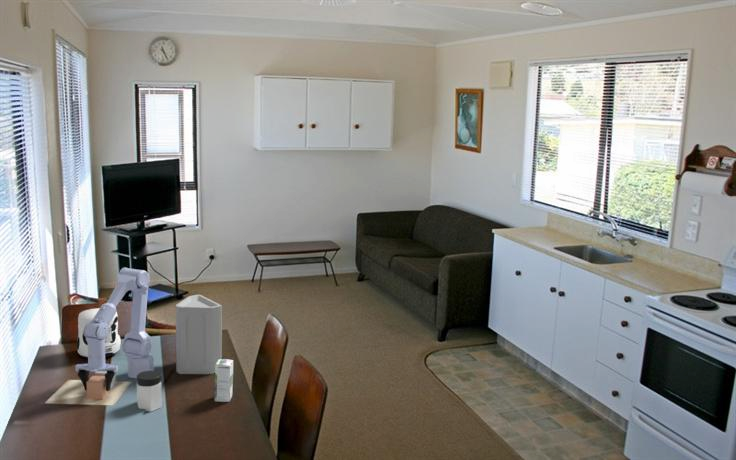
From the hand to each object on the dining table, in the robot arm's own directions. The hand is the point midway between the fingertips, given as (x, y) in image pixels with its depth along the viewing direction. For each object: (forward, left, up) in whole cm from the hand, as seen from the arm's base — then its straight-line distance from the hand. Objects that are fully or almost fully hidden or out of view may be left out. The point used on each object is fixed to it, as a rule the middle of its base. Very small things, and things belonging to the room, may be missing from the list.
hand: (97, 389), depth 239 cm
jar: (-20, +5, -4) cm, 21 cm away
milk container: (+15, -42, -4) cm, 45 cm away
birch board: (+4, -3, -4) cm, 6 cm away
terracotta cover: (0, 0, -3) cm, 2 cm away
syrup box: (-45, -3, -4) cm, 45 cm away
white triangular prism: (-28, -30, -4) cm, 41 cm away
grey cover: (0, -8, -3) cm, 8 cm away
